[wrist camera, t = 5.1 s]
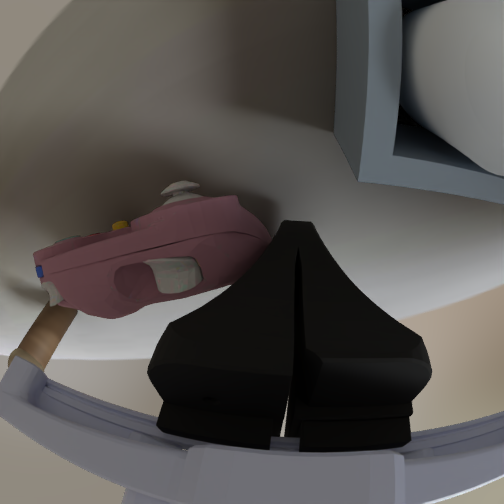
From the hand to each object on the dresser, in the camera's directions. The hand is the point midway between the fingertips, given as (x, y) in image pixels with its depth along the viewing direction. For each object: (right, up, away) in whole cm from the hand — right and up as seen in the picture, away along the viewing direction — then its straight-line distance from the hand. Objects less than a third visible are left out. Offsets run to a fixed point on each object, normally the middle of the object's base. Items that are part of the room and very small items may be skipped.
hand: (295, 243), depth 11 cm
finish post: (-16, -4, +7) cm, 18 cm away
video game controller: (-6, +1, +2) cm, 6 cm away
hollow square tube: (+4, +6, -4) cm, 8 cm away
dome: (+4, +5, -5) cm, 8 cm away
